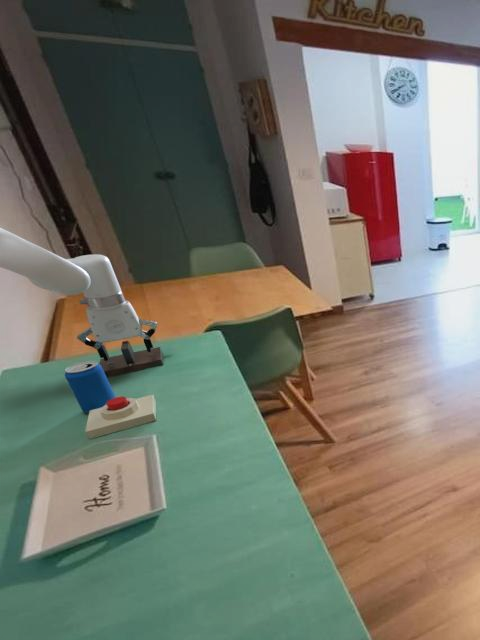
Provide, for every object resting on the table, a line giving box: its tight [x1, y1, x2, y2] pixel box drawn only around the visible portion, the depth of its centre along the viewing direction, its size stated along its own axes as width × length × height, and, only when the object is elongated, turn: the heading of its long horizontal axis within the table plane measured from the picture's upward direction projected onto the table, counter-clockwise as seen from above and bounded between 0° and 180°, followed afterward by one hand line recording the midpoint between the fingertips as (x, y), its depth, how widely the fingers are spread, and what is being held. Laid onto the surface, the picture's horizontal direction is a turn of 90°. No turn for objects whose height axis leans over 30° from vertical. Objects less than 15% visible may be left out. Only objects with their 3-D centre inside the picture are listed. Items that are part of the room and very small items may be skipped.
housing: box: [84, 394, 157, 440], centre depth 100 cm, size 12×10×4 cm
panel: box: [98, 346, 164, 378], centre depth 124 cm, size 14×10×2 cm
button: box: [106, 396, 129, 411], centre depth 99 cm, size 4×4×2 cm
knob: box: [120, 339, 135, 364], centre depth 122 cm, size 6×2×5 cm, turn 37°
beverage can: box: [64, 360, 117, 414], centre depth 102 cm, size 6×6×12 cm
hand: (128, 354), depth 123 cm, fingers open, 9 cm apart
